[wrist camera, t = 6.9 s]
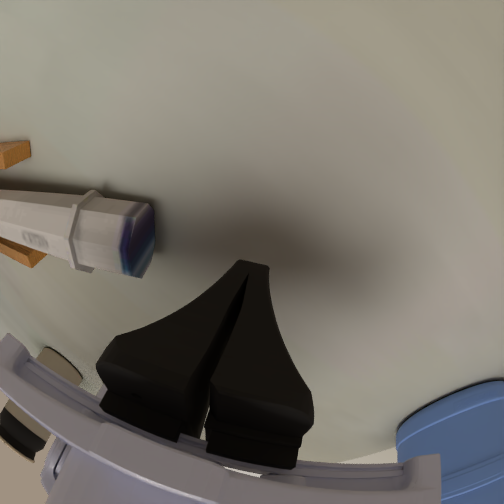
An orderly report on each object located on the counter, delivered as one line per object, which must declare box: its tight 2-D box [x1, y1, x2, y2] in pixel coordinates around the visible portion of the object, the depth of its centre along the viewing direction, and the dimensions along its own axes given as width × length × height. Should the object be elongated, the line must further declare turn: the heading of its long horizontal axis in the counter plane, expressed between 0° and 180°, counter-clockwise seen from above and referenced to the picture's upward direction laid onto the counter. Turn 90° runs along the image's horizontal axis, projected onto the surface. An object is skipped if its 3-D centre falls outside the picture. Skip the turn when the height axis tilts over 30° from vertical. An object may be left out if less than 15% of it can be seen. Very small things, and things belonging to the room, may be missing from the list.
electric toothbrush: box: [0, 190, 155, 278], centre depth 14 cm, size 5×7×25 cm
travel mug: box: [0, 348, 82, 463], centre depth 26 cm, size 8×8×18 cm
